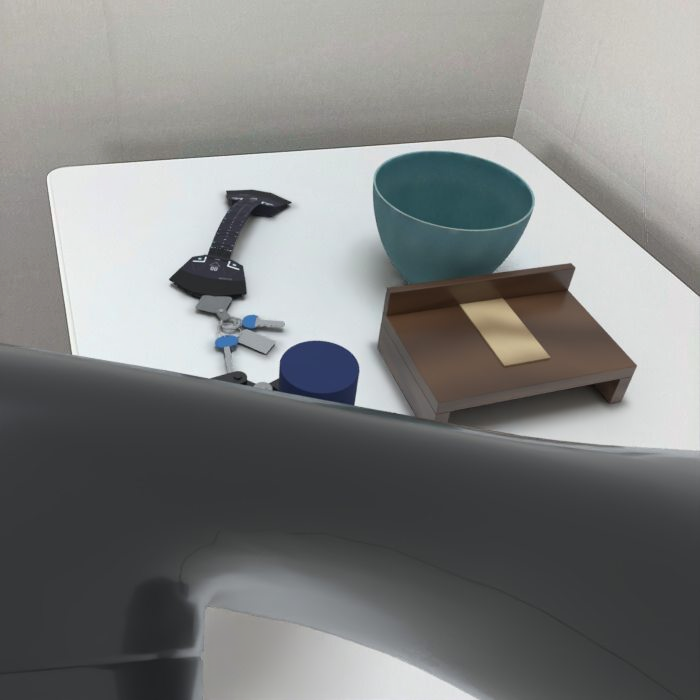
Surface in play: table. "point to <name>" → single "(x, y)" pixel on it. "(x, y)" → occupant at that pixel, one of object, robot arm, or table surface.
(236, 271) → the dark piece
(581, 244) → the table surface
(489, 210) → the teal bowl
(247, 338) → the key chain
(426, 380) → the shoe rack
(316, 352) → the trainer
